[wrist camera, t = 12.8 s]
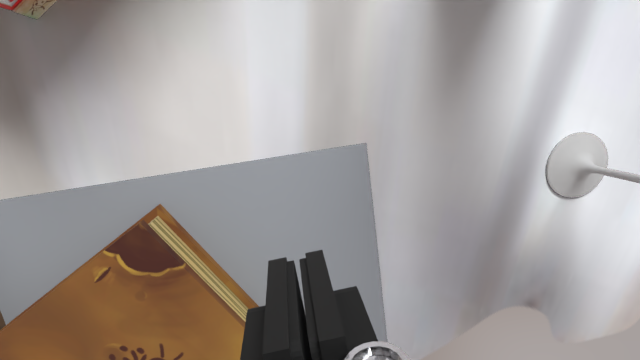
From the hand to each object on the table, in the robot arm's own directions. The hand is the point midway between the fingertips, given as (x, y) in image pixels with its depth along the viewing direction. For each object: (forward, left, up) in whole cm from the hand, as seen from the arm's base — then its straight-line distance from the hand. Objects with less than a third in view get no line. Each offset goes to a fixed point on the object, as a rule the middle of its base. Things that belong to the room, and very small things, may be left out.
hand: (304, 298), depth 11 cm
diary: (+14, +17, -25) cm, 33 cm away
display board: (+10, +12, -24) cm, 29 cm away
